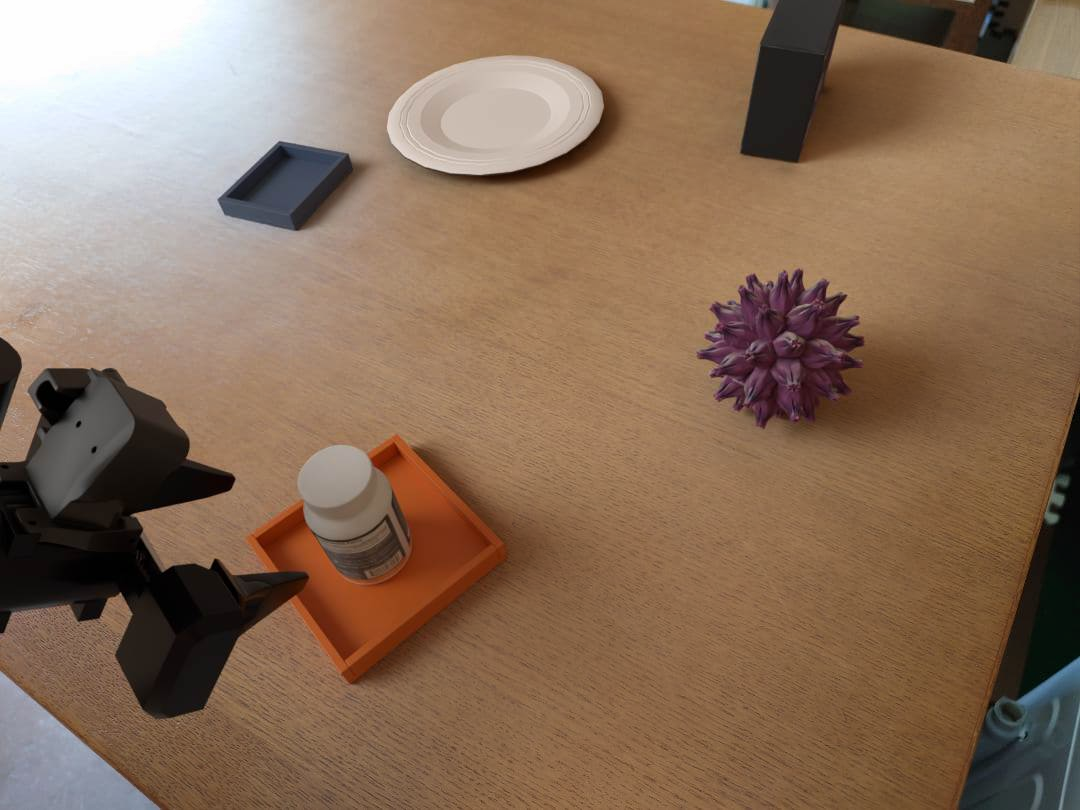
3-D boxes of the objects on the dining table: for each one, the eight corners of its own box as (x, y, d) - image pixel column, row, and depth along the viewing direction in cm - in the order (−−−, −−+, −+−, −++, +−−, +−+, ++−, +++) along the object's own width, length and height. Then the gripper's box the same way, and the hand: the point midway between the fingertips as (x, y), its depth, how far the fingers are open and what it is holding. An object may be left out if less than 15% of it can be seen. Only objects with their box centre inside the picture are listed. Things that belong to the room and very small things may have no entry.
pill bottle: (345, 515, 57) (302, 435, 50) (421, 518, 57) (389, 437, 49) (325, 587, 54) (275, 512, 46) (406, 590, 53) (368, 515, 45)
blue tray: (296, 231, 80) (289, 215, 79) (224, 215, 83) (216, 199, 82) (353, 169, 87) (348, 153, 85) (285, 155, 90) (279, 140, 88)
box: (802, 165, 80) (826, 52, 71) (738, 156, 82) (752, 44, 73) (829, 82, 90) (852, -28, 80) (770, 75, 92) (787, -33, 82)
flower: (699, 457, 60) (686, 328, 66) (860, 450, 59) (833, 318, 64) (708, 388, 50) (692, 241, 55) (903, 377, 49) (867, 227, 54)
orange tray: (349, 685, 50) (340, 673, 48) (254, 551, 57) (244, 538, 55) (507, 557, 55) (504, 543, 53) (402, 448, 61) (396, 433, 60)
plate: (351, 171, 86) (346, 156, 85) (444, 60, 101) (441, 46, 99) (563, 203, 80) (562, 187, 78) (630, 79, 94) (630, 64, 92)
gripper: (85, 547, 26) (414, 520, 39) (-54, 288, 36) (245, 334, 49) (-5, 774, 30) (326, 682, 42) (-111, 480, 39) (184, 476, 52)
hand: (267, 529), depth 46 cm, fingers open, 9 cm apart
